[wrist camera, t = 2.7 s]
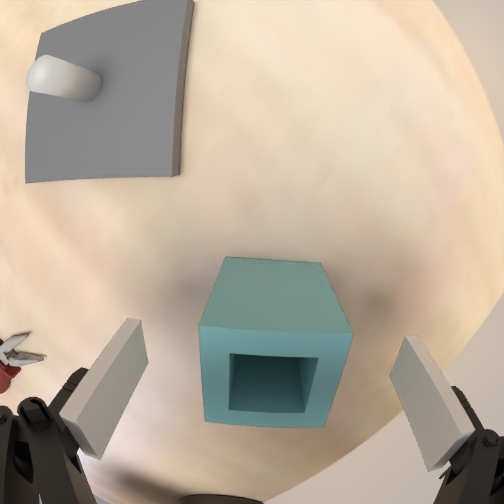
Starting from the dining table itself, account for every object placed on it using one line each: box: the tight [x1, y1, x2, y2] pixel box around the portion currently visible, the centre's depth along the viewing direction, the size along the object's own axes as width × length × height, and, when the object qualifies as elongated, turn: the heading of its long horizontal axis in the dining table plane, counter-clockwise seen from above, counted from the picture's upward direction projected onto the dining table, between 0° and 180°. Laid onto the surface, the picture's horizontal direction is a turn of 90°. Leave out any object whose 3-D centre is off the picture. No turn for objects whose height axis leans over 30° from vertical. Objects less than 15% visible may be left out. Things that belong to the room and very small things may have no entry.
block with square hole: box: [199, 257, 353, 427], centre depth 15 cm, size 6×6×8 cm
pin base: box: [25, 0, 194, 183], centre depth 12 cm, size 12×12×6 cm
